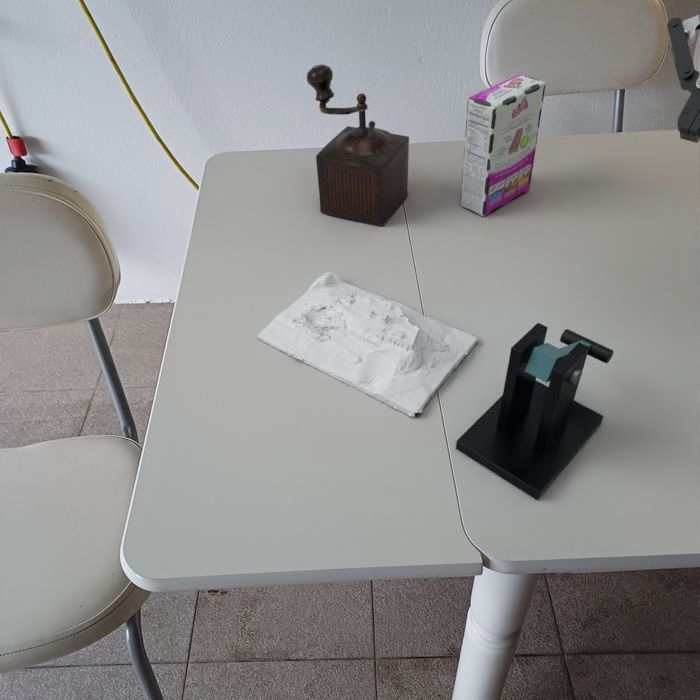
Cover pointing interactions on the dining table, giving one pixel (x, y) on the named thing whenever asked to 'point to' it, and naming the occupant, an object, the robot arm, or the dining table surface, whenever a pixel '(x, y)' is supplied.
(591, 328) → the dining table surface
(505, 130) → the candy bar box
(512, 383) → the switch bracket
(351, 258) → the dining table surface
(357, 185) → the manual coffee grinder
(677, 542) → the dining table surface
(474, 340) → the terrain model
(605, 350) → the switch lever
